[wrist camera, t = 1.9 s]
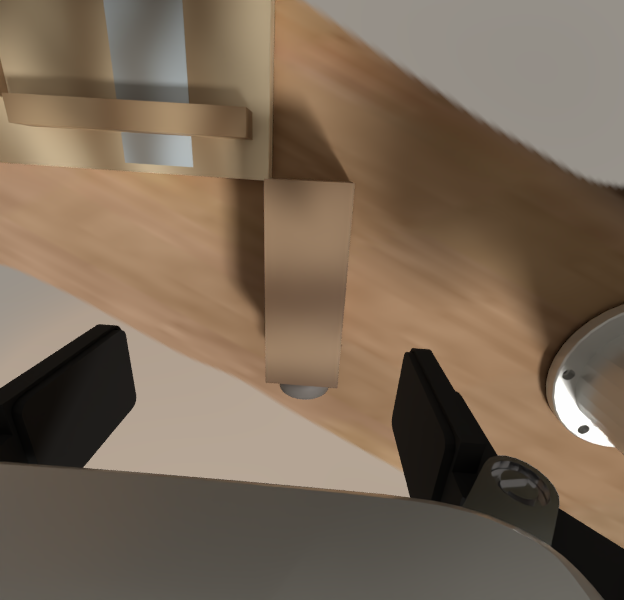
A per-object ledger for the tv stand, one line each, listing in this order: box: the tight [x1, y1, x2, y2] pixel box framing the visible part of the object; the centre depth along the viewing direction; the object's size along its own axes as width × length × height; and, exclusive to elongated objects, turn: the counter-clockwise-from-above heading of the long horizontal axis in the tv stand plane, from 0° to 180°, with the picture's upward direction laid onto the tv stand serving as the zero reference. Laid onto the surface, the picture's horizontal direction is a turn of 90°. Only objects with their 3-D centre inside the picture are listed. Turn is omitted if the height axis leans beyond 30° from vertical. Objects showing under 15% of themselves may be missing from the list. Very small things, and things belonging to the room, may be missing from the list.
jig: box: [0, 0, 275, 180], centre depth 17 cm, size 20×14×4 cm
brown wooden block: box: [264, 178, 355, 399], centre depth 21 cm, size 14×4×6 cm, turn 178°
